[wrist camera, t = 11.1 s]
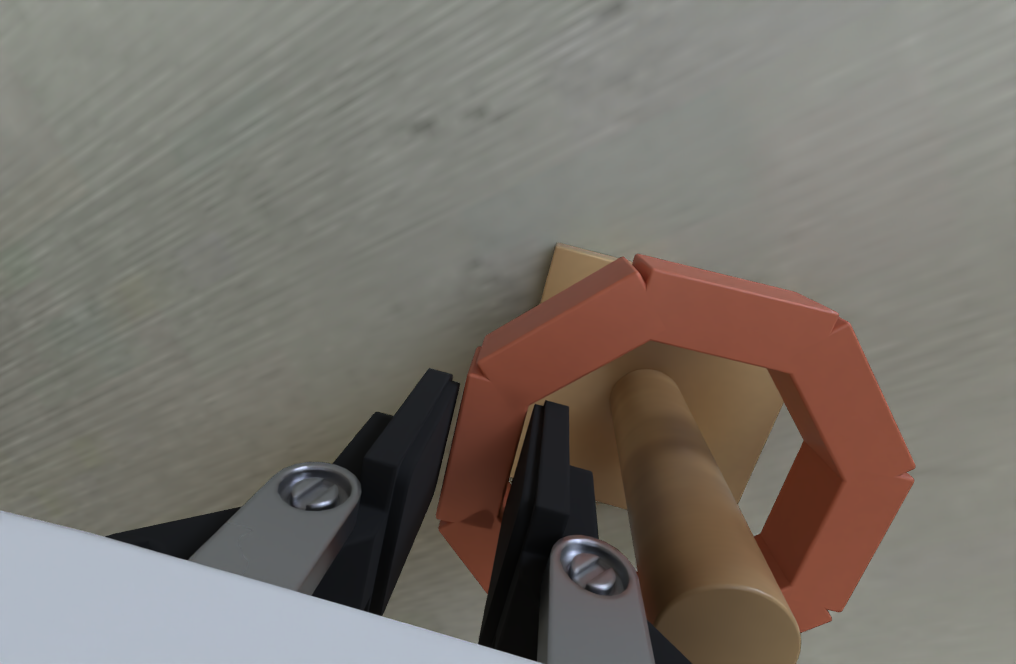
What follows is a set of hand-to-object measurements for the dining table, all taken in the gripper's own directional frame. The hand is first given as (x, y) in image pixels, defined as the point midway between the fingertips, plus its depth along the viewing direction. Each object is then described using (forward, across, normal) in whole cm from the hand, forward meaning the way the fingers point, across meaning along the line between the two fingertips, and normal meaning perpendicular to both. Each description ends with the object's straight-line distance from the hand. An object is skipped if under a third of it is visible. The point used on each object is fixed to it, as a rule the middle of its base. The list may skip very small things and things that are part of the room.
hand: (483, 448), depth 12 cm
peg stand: (+6, -4, 0) cm, 8 cm away
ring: (+2, -4, 0) cm, 4 cm away
